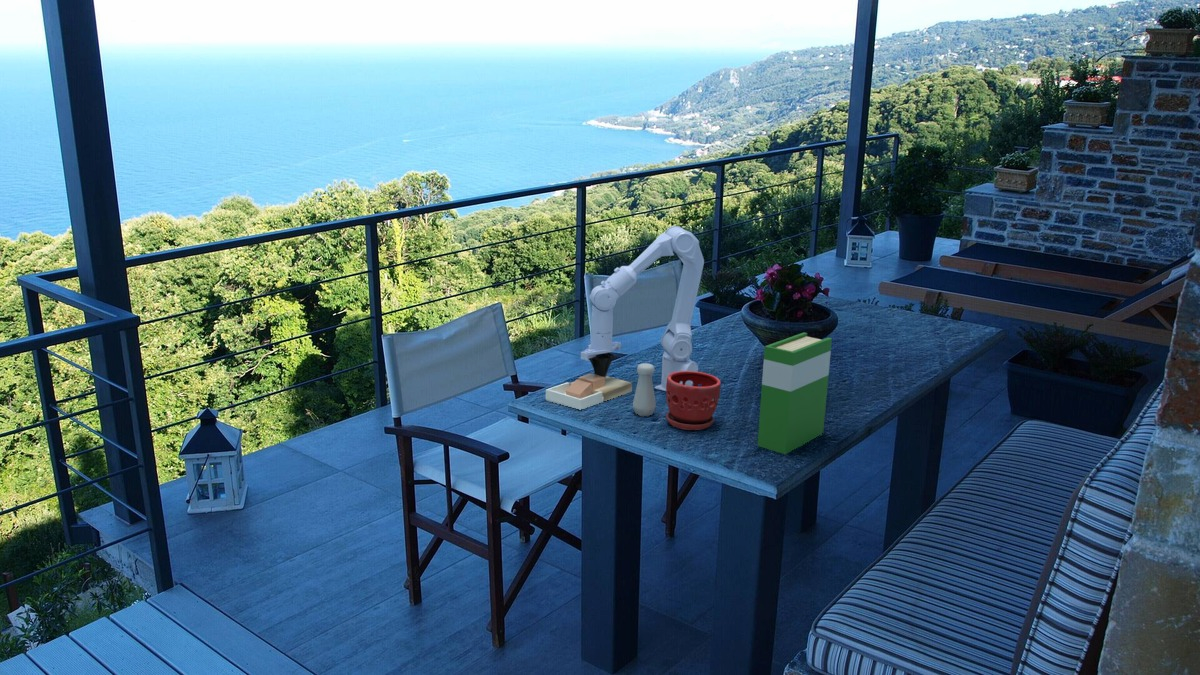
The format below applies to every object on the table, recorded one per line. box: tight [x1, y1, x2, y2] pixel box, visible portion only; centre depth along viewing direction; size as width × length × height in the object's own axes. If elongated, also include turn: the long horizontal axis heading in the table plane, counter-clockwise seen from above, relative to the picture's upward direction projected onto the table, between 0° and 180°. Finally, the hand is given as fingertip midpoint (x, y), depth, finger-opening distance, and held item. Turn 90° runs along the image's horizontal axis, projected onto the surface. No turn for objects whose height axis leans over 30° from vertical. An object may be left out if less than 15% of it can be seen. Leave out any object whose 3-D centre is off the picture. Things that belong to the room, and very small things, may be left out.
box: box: [545, 382, 604, 410], centre depth 244 cm, size 12×9×3 cm
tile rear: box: [578, 372, 605, 390], centre depth 249 cm, size 5×5×2 cm
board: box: [568, 375, 633, 402], centre depth 252 cm, size 12×12×2 cm
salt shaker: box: [632, 362, 657, 417], centre depth 235 cm, size 6×6×13 cm
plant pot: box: [665, 371, 722, 431], centre depth 229 cm, size 13×13×12 cm
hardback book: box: [757, 332, 833, 455], centre depth 219 cm, size 18×7×24 cm, turn 139°
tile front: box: [565, 379, 593, 399], centre depth 245 cm, size 5×5×2 cm
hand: (600, 380), depth 252 cm, fingers closed
